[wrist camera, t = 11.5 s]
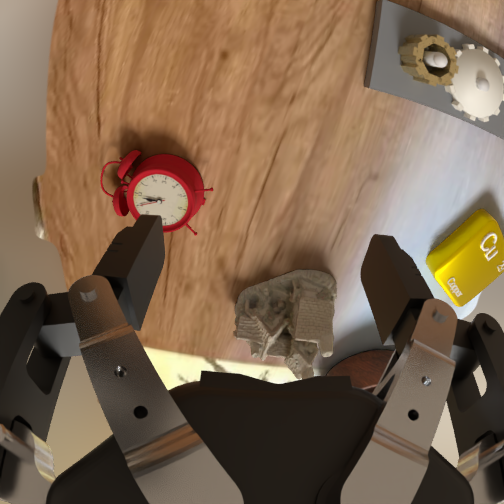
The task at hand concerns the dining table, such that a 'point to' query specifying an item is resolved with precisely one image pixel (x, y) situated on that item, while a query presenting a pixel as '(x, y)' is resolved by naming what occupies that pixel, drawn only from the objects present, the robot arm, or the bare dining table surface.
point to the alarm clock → (159, 189)
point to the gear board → (403, 82)
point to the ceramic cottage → (289, 318)
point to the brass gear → (414, 55)
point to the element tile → (469, 258)
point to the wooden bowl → (363, 368)
